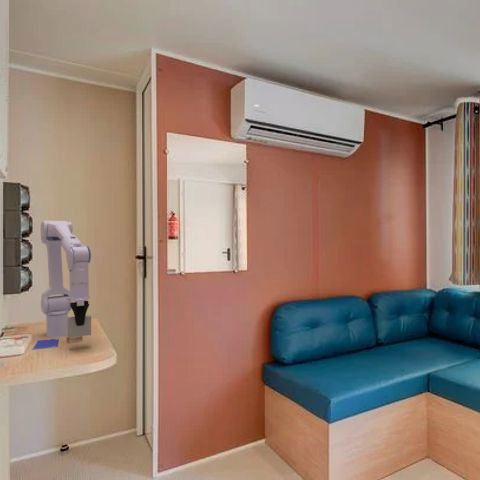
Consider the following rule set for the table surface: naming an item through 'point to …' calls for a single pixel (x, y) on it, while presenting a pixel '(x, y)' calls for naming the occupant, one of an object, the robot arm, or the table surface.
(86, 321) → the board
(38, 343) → the hard drive
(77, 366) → the table surface
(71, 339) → the offcut top
